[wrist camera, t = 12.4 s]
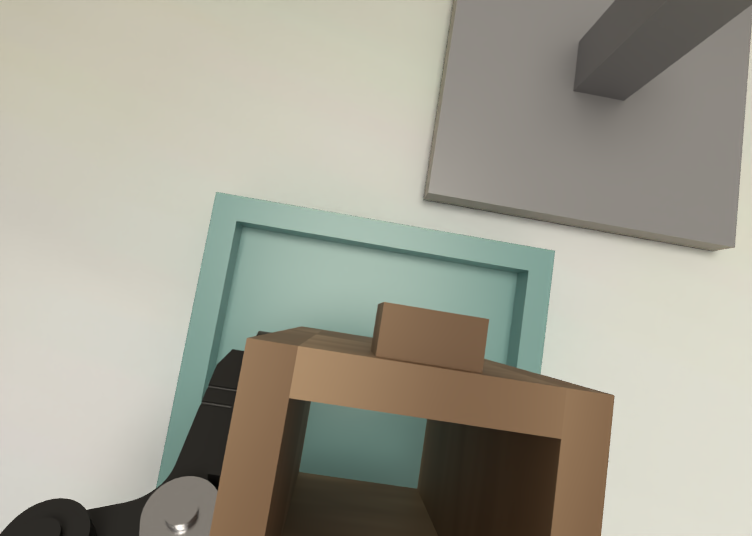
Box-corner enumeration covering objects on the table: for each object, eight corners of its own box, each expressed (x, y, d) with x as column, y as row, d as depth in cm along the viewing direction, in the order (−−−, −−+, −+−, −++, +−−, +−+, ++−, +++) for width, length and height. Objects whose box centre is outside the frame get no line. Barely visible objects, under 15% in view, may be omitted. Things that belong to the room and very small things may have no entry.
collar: (272, 492, 15) (166, 761, 6) (306, 301, 15) (257, 280, 6) (435, 514, 15) (574, 804, 6) (461, 327, 16) (619, 339, 7)
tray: (161, 536, 19) (141, 561, 17) (227, 203, 21) (216, 192, 19) (495, 579, 20) (512, 608, 18) (534, 256, 21) (555, 250, 19)
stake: (423, 199, 21) (528, 54, 9) (465, -78, 23) (601, -505, 11) (713, 250, 22) (1147, 176, 10) (735, -20, 24) (1134, -358, 12)
